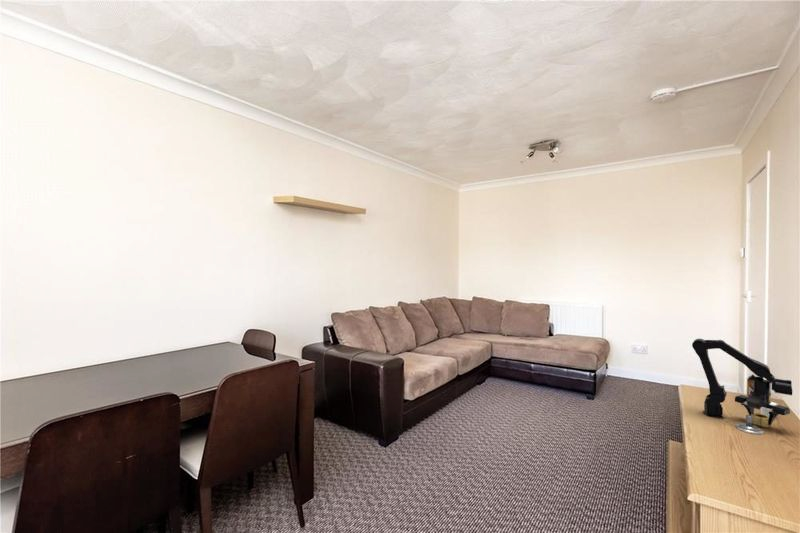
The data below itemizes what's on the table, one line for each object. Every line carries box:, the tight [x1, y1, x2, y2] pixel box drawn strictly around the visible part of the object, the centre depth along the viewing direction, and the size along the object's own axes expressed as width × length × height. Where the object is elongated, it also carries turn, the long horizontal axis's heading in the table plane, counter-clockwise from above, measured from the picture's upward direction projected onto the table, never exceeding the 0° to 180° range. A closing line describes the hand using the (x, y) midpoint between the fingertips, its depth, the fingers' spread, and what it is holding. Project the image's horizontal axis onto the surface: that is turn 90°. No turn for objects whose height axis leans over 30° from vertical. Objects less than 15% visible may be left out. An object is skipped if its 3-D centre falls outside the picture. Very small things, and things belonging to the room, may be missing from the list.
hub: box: [734, 414, 765, 435], centre depth 175 cm, size 10×10×6 cm
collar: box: [751, 412, 772, 428], centre depth 180 cm, size 6×6×4 cm
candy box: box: [746, 378, 772, 402], centre depth 202 cm, size 9×4×15 cm, turn 28°
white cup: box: [759, 401, 779, 416], centre depth 191 cm, size 7×7×7 cm
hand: (760, 422), depth 180 cm, fingers closed on collar, 6 cm apart
